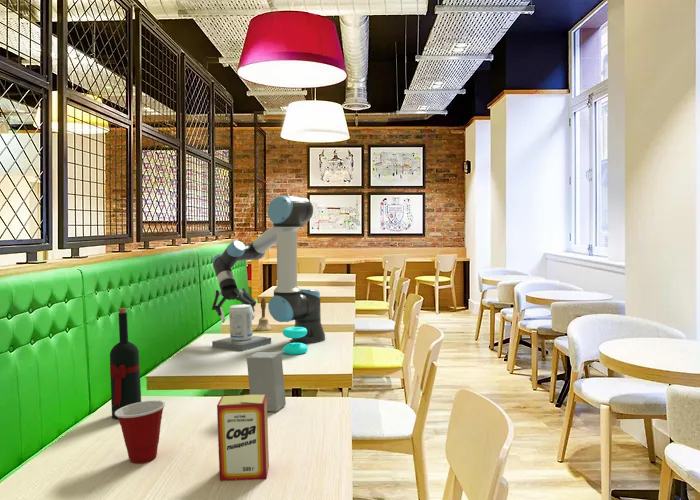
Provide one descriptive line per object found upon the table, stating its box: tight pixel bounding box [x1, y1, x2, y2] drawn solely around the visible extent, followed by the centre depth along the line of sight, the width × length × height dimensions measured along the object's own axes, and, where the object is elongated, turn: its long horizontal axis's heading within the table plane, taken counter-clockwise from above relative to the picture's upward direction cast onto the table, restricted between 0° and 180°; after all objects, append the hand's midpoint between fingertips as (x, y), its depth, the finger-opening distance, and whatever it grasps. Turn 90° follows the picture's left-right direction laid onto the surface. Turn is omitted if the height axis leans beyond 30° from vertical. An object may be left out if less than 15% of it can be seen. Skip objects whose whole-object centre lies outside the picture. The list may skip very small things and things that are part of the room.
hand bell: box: [255, 297, 273, 332], centre depth 303 cm, size 8×8×16 cm
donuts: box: [282, 326, 309, 356], centre depth 245 cm, size 10×10×10 cm
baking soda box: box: [216, 394, 270, 482], centre depth 125 cm, size 10×6×16 cm
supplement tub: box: [228, 303, 253, 341], centre depth 263 cm, size 10×10×15 cm
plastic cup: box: [115, 400, 166, 464], centre depth 135 cm, size 11×11×12 cm
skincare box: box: [246, 351, 287, 413], centre depth 170 cm, size 8×7×16 cm
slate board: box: [211, 335, 272, 352], centre depth 263 cm, size 18×18×3 cm
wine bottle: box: [109, 307, 142, 421], centre depth 165 cm, size 8×10×30 cm
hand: (238, 319), depth 265 cm, fingers open, 13 cm apart
